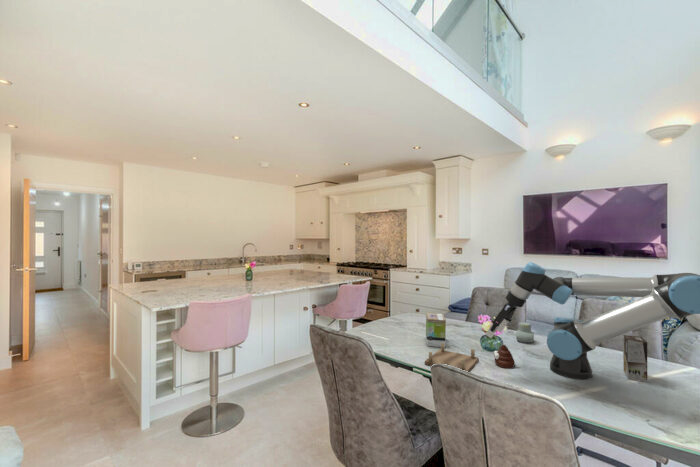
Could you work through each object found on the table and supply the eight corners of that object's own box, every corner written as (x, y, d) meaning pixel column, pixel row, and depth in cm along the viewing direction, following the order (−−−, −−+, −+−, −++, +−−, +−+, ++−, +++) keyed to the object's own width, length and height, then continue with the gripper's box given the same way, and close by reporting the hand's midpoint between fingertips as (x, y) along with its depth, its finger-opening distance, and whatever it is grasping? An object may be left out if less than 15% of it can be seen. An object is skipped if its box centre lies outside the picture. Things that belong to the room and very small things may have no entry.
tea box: (446, 347, 169) (446, 319, 169) (426, 346, 171) (426, 318, 171) (443, 338, 184) (443, 313, 184) (425, 337, 186) (425, 312, 186)
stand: (478, 360, 151) (478, 349, 151) (466, 374, 136) (466, 361, 136) (439, 352, 162) (439, 341, 162) (424, 364, 147) (424, 352, 147)
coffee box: (648, 382, 128) (647, 342, 128) (627, 379, 131) (626, 339, 131) (642, 374, 135) (642, 336, 136) (623, 371, 139) (622, 334, 139)
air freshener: (533, 345, 172) (532, 326, 172) (515, 342, 176) (515, 324, 176) (533, 339, 181) (533, 322, 181) (517, 337, 185) (517, 320, 186)
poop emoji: (515, 370, 140) (515, 348, 141) (494, 367, 143) (494, 346, 143) (512, 361, 150) (512, 341, 150) (493, 359, 153) (492, 339, 153)
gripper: (517, 287, 151) (494, 323, 157) (501, 292, 133) (476, 333, 139) (533, 297, 147) (509, 333, 153) (518, 303, 128) (491, 345, 134)
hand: (493, 333), depth 146 cm, fingers open, 13 cm apart
